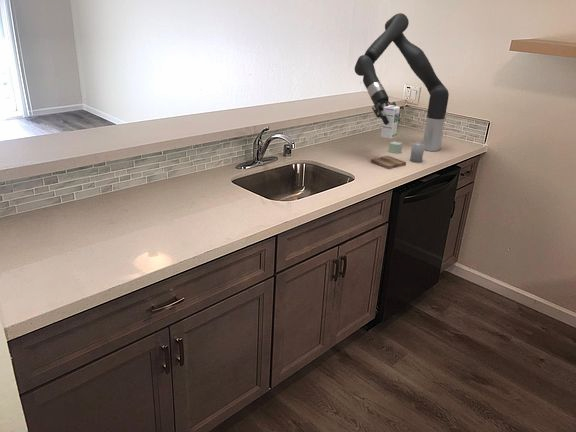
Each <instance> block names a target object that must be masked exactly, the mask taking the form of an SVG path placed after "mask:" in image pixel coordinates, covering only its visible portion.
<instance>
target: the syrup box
mask: <svg viewBox="0 0 576 432" xmlns="http://www.w3.org/2000/svg"><path fill="white" fill-rule="evenodd" d="M400 110H401V107H400V106H398V105H396V106H394V105H389V106H386V107H384V113H385V116H386V117H387V119H388V121H389V123H388V124H387V125H385V124H384V122H383V120H382V121H381V122H382V123H381V133H380V137H381V138H384V139H385V138H386V139H393V138H397V136H398V129H399V128H398V127H399V122H398V120H399V119H400Z"/></svg>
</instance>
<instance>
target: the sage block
mask: <svg viewBox="0 0 576 432" xmlns="http://www.w3.org/2000/svg"><path fill="white" fill-rule="evenodd" d="M402 148H403V143H402V142H401V141H400V142H398V141H395V140H394V141H391V142H389V144H388V153H390V154H395V155H399V154H401V153H402V150H403V149H402Z"/></svg>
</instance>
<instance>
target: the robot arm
mask: <svg viewBox="0 0 576 432" xmlns="http://www.w3.org/2000/svg"><path fill="white" fill-rule="evenodd" d="M409 22H410V20H409V18H408V17H407V15H406V14H405V13H400V12H399V13H395V14H394V15H393V16H391V17H390V18H389V19H388V20H386V22H385V23H384V31H383V32H382V34H380V35H379V36H378V37H377V38H376V39H375V40H374V41H373V42H372V43H371V44H370V45H369V47H367V49H366V51H365V53H364V54H362V55H360V56H359V57H358V58H357V60H356V64H355V65H354V73H355V75H357V76H360V77H363V78H362V82H363V85H364V87H365V89H366V90H367V94H368V95H369V97H370V100H371V101H372V104H373V106H372V107H371V109H372V111H373V112H374V114H375V116H376V118H380V119H381V120H382V121H383V122H384V124H385V125H387V124H388V123H389V121H388V119H387V117H386V116H385V113H384V107H386V106H389V105H394V106H397V104H396V102H395V101H393V102H390V101H389V95H388V94H387V91H386V89H385V88H384V86H383V84H382V83H381V80H380V79H379V77H378V76H377V72H376V69H375V65H374V64H375V63H376V62H377V60H378V59H379V58H380V57H381V56H382V55H383V53H384V52H385V51H386V50H387V49H388V47H389V46H390V45H391V43H394V45H395V47H396V48H397V49H398V50H399V51H400V54H402V56H403V57H404V59H405V60H406V63H407V64H408V66H409V67H410V69H411V70H412V71H413V73H414V74H415V75H416V77H418V79H419V80H420V81H421V82H422V83H423V85H424V86H425V88H426V90H427V92H428V94H429V99H428V107H427V111H426V112H427V113H426V120H425V127H424V133H423V139H422V143H424V144H425V146H424V151H428V152H429V151H430V152H438V151H440V150H441V147H442V143H443V142H442V141H443V138H444V137H443V135H444V131H443V130H444V124H445V120H446V119H445V118H446V114H447V108H448V102H449V96H450V93H449V90H448V89H447V87H446V86H445V85H444V84H443V83H442V81H441V80H440V79H439V78H438V76H437V74H436V72H435V70H434V68H433V66H432V63H431V62H430V60H429V58H428V56H427V55H426V54H425V52H424V51H423V50H422V49H421V48H420V47H419V46H417V45H416V44H414V43H413V42H411V41H409V39H408V38H407V37H406V36H405V34H404V32H405V31H406V30H407V28H408V27H409ZM400 121H401V119H400V118H399V120H398V123H399V122H400Z"/></svg>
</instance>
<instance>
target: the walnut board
mask: <svg viewBox="0 0 576 432" xmlns="http://www.w3.org/2000/svg"><path fill="white" fill-rule="evenodd" d="M370 163H371V164H374V165H377V166H380V167H382V168H385V169H387V170H392V169H395V168H399V167H405V166H406V165H407V162H406V161H404V160H402V159H400V158H399V159H398V158H395V157H393V156H390V155H385V156H380V157H376V158H371V159H370Z"/></svg>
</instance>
